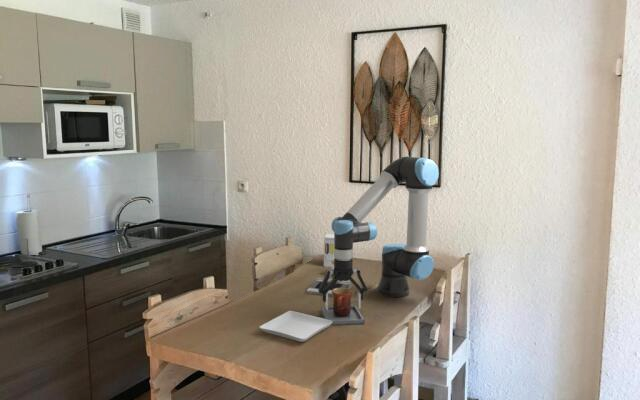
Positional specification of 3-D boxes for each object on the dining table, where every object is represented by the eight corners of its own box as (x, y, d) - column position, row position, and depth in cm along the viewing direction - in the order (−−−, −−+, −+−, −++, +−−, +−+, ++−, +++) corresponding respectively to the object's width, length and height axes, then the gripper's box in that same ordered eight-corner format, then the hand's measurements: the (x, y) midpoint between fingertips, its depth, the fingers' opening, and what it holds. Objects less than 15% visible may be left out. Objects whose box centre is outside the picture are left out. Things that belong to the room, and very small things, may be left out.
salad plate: (304, 347, 198) (304, 338, 197) (257, 334, 209) (257, 326, 208) (333, 328, 215) (334, 320, 215) (289, 317, 226) (289, 309, 226)
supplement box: (323, 266, 303) (323, 236, 301) (325, 262, 312) (326, 233, 310) (340, 267, 302) (340, 237, 299) (342, 263, 311) (342, 234, 308)
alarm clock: (351, 281, 266) (341, 288, 251) (350, 291, 267) (341, 298, 251) (317, 278, 272) (306, 284, 256) (317, 287, 272) (306, 294, 257)
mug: (333, 310, 233) (333, 286, 232) (353, 311, 231) (354, 288, 230) (328, 320, 222) (328, 295, 220) (349, 322, 220) (349, 297, 218)
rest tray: (355, 309, 236) (356, 305, 236) (364, 324, 219) (364, 319, 219) (321, 310, 234) (321, 306, 234) (327, 325, 217) (327, 321, 217)
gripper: (371, 255, 228) (370, 303, 231) (311, 256, 225) (311, 306, 228) (375, 259, 221) (374, 310, 224) (314, 261, 218) (313, 312, 221)
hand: (342, 308), depth 226 cm, fingers open, 13 cm apart
